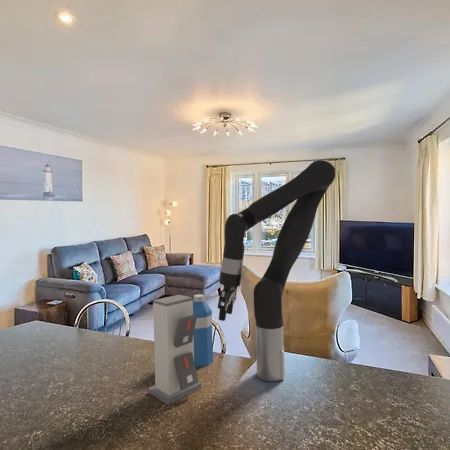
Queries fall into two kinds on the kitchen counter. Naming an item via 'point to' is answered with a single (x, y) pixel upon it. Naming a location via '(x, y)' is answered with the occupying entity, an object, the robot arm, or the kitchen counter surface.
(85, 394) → the kitchen counter surface
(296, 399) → the kitchen counter surface
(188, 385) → the lower rocker
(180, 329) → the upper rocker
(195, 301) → the water bottle
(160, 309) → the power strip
